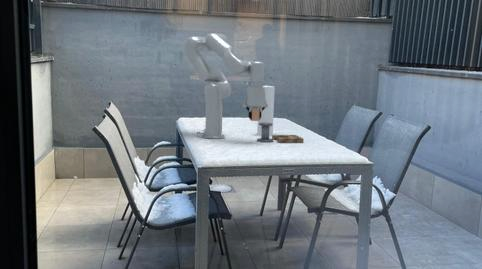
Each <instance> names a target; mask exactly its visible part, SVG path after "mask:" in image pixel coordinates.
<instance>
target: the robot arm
mask: <svg viewBox="0 0 482 269" xmlns="http://www.w3.org/2000/svg"><path fill="white" fill-rule="evenodd" d="M183 46H184V47H183V51H184V54H185V57H186V59H187V60H188V62H189V64H190V65H191V66H192V69H193V70H194V72H195V74H196V75H197V77H198V79H199V81H200V82H202V83H204V84H206V85H205V87H204V98H205V99H204V100H205V128H203V129H202V130H199V129H198V130H197V131H196V133H197V134H199V135H202V138H203V139H214V140H218V139H219V140H221V139H224V138H225V134H223V102H222V99H226V98H228V97H230V96H231V93H232V88H231V85H230V83H229V81H228V80H227V78H226V75H225V74H224V73H223V71H222V70H221V69H220V67H217V66H213V65H212V66H211V65H210V64H208V61H207V60H206V58H205V57H204V55H202V54H201V53H210V52H214V53H215V54H216V55H217V56H219V57H220V59H221V61H222V62H223V65H224V66H225V67H226V68H227V69H228V70H229V71H230V72H232V73H233V74H235V75H237V76H248V77H249V80H248V82H246V86H248V87H247V89H246V94H245V95H246V96H245V100H244V102H243V103H242V107H243V108H245V109H246V110H247V111H248V115H247V116H248V118H249V120H250V119H252V111H251V110H252V109H253V107H258V108H259V110H260V113H259V119H260V118H261V112H262V111H263V110H264V109H265V108H267V107H268V105H267V103H266V97H265V88H263V86H264V77H265V73H264V71H265V63H264V62H263V61H252V60H250V61H249V60H240V59H238V58H237V57H236V55H234V54H233V52H234V48H233V46H232V45H231V44H229V40H228V37H227V36H226V35H225V34H223V33H216V32H211V33H208V34H207V35H206V36H204V37H203V36H197V35H196V36H195V35H193V36H189V37H188V38H187V39H186V40H185V42H184V45H183ZM262 106H263V107H262ZM258 108H257V109H258Z"/></svg>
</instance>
